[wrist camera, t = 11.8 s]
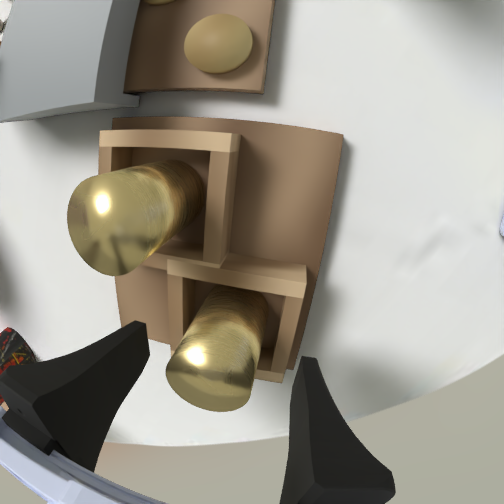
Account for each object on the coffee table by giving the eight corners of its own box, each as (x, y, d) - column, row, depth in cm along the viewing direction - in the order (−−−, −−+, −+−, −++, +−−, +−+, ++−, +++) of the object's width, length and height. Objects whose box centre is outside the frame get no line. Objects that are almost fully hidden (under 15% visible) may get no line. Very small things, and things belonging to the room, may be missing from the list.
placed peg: (207, 161, 14) (147, 178, 8) (202, 231, 15) (149, 285, 10) (143, 157, 14) (65, 174, 9) (142, 222, 15) (72, 266, 10)
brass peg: (269, 336, 17) (252, 416, 11) (210, 331, 17) (175, 404, 12) (268, 281, 15) (248, 357, 10) (202, 279, 16) (157, 346, 11)
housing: (169, -46, 9) (140, -76, 6) (138, 106, 14) (93, 102, 10) (56, -9, 10) (21, -20, 7) (30, 119, 15) (-11, 124, 11)
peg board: (341, 135, 13) (350, 133, 10) (293, 361, 18) (291, 392, 16) (120, 118, 14) (90, 117, 12) (127, 324, 20) (108, 347, 17)
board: (280, -42, 9) (278, -56, 8) (263, 93, 13) (258, 88, 11) (148, -31, 10) (137, -41, 9) (123, 93, 14) (107, 90, 12)
